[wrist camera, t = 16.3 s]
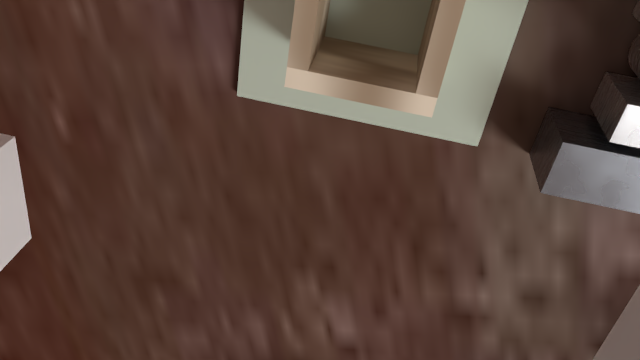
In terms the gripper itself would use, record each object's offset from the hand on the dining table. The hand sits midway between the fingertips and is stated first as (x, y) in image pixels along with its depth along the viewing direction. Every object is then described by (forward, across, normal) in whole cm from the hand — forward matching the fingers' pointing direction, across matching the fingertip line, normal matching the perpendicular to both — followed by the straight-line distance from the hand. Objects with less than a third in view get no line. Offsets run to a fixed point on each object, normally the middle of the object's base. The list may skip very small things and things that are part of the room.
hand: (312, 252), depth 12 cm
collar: (+20, 0, 0) cm, 20 cm away
